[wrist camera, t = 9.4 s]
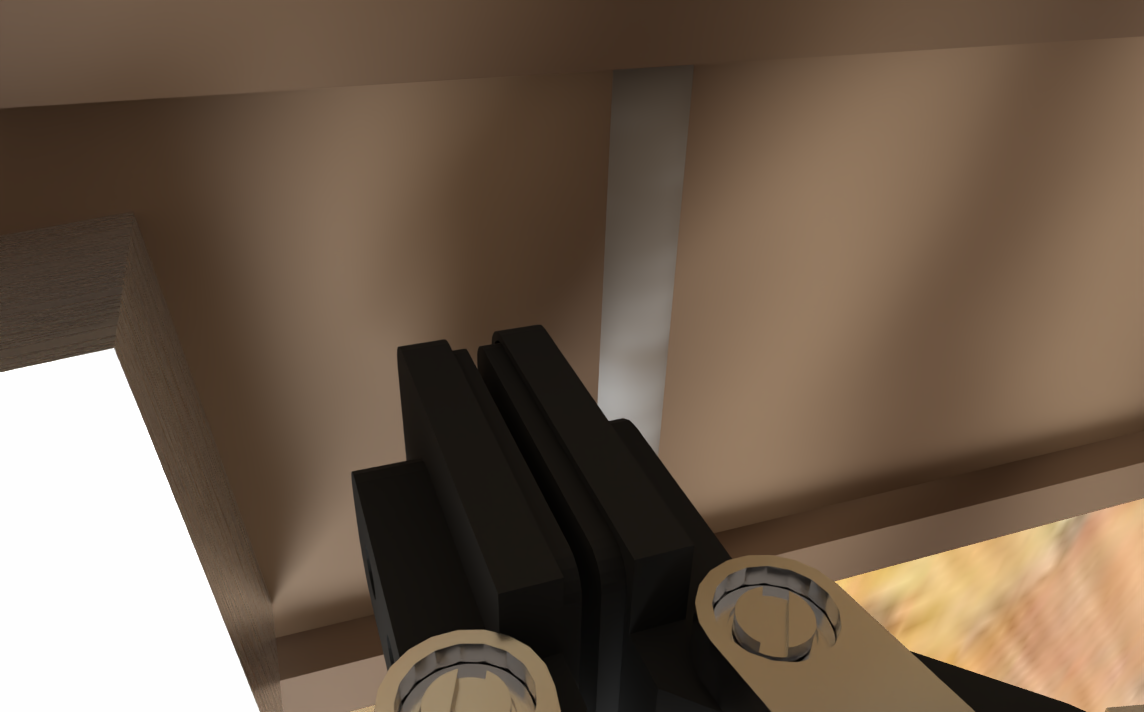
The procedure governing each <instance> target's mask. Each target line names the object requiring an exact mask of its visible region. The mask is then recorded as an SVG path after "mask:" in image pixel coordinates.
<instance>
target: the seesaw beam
mask: <svg viewBox="0 0 1144 712" xmlns="http://www.w3.org/2000/svg"><path fill="white" fill-rule="evenodd" d="M131 211H134V213H135V216H136V219H137V222H138V225H139V227H140V230H141V233H142V236H143V239H144V242H145V244H146V247H147V250H148V253H149V256H150V259H151V261H152V264H153V267H154V270H155V273H156V276H157V278H158V281H159V284H160V287H161V290H162V293H163V295H164V298H165V301H166V304H167V307H168V310H169V312H170V315H171V318H172V321H173V324H174V327H175V329H176V332H177V335H178V338H179V341H180V344H181V346H182V349H183V352H184V355H185V358H186V361H187V364H188V366H189V369H190V372H191V375H192V378H193V381H194V383H195V386H196V389H197V392H198V395H199V398H200V400H201V403H202V406H203V409H204V412H205V415H206V417H207V420H208V423H209V426H210V429H211V432H212V434H213V437H214V440H215V443H216V446H217V449H218V451H219V454H220V457H221V460H222V463H223V466H224V468H225V471H226V474H227V477H228V480H229V483H230V485H231V488H232V491H233V494H234V497H235V500H236V502H237V505H238V508H239V511H240V514H241V517H242V519H243V522H244V525H245V528H246V531H247V534H248V536H249V539H250V542H251V545H252V548H253V551H254V553H255V556H256V559H257V562H258V565H259V568H260V570H261V573H262V576H263V579H264V582H265V585H266V588H267V590H268V593H269V596H270V599H271V602H272V606H273V616H274V626H275V636H276V646H277V656H278V666H279V676H280V686H281V695H282V705H283V712H350V711H354V710H358V709H361V708H365V707H369V706H373V705H375V703H376V697H377V691H378V688H379V686H380V684H381V683H382V681H383V679H384V677H385V675H386V674H387V672H388V671H387V667H386V663H385V658H384V654H383V650H382V645H381V641H380V637H379V633H378V628H377V624H376V620H375V615H374V611H373V607H372V603H371V598H370V594H369V589H368V584H367V579H366V574H365V569H364V563H363V558H362V552H361V546H360V540H359V533H358V527H357V519H356V512H355V505H354V497H353V489H352V480H351V472H352V471H356V470H362V469H367V468H372V467H377V466H382V465H387V464H392V463H397V462H402V461H406V451H405V441H404V430H403V419H402V408H401V398H400V387H399V376H398V366H397V348H398V346H405V345H411V344H417V343H424V342H430V341H437V340H443V339H446V340H447V341H448V343H449V345H450V347H451V349H452V351H453V350H459V349H467V350H468V352H469V354H470V356H471V358H472V360H473V361H474V363H475V365H476V367H477V351H478V348H479V346H484V345H490V344H492V336H493V333H494V332H495V331H500V330H506V329H513V328H519V327H525V326H532V325H542V326H543V327H544V328H545V329H546V331H547V332H548V334H549V335H550V336H551V338H552V339H553V341H554V342H555V344H556V345H557V347H558V348H559V350H560V351H561V352H562V354H563V355H564V357H565V358H566V360H567V361H568V363H569V364H570V365H571V367H572V368H573V370H574V371H575V373H576V374H577V376H578V377H579V379H580V380H581V381H582V383H583V384H584V386H585V387H586V389H587V390H588V392H589V393H590V394H591V396H592V397H593V399H594V400H595V402H596V403H597V405H598V406H599V408H600V409H601V410H602V412H603V413H604V415H605V416H606V418H607V419H608V421H611V420H616V419H621V418H625V419H628V420H630V421H631V422H632V423H633V424H634V425H635V426H636V427H637V428H638V430H639V431H640V433H641V434H642V435H643V437H644V438H645V439H646V441H647V442H648V444H649V445H650V446H651V448H652V449H653V450H654V452H655V453H656V455H657V456H658V457H659V459H660V460H661V461H662V463H663V464H664V466H665V467H666V468H667V470H668V471H669V472H670V474H671V475H672V477H673V478H674V479H675V481H676V482H677V483H678V485H679V486H680V488H681V489H682V490H683V492H684V493H685V494H686V496H687V497H688V499H689V500H690V501H691V503H692V504H693V505H694V507H695V508H696V510H697V511H698V512H699V514H700V515H701V516H702V518H703V519H704V521H705V522H706V523H707V525H708V526H709V527H710V529H711V530H712V532H713V533H714V534H715V536H716V537H717V538H718V540H719V541H720V543H721V544H722V545H723V547H724V548H725V549H726V551H727V552H728V554H729V555H730V556H731V558H732V559H735V558H739V557H743V556H747V555H773V556H778V557H783V558H788V559H793V560H796V561H799V562H801V563H803V564H805V565H808V566H810V567H812V568H815V569H817V570H819V571H820V572H821V573H823V574H824V575H826V576H827V577H828V578H830V579H831V580H832V581H837V580H841V579H845V578H849V577H852V576H856V575H860V574H863V573H867V572H871V571H875V570H878V569H882V568H886V567H889V566H893V565H897V564H901V563H904V562H908V561H912V560H916V559H919V558H923V557H927V556H930V555H934V554H938V553H942V552H945V551H949V550H953V549H956V548H960V547H964V546H968V545H971V544H975V543H979V542H982V541H986V540H990V539H994V538H997V537H1001V536H1005V535H1008V534H1012V533H1016V532H1020V531H1023V530H1027V529H1031V528H1034V527H1038V526H1042V525H1046V524H1049V523H1053V522H1057V521H1061V520H1064V519H1068V518H1072V517H1075V516H1079V515H1083V514H1087V513H1090V512H1094V511H1098V510H1101V509H1105V508H1109V507H1113V506H1116V505H1120V504H1124V503H1127V502H1131V501H1135V500H1139V499H1142V498H1144V0H0V235H5V234H11V233H16V232H22V231H27V230H32V229H38V228H43V227H49V226H54V225H60V224H65V223H71V222H76V221H82V220H87V219H93V218H98V217H103V216H109V215H114V214H120V213H125V212H131ZM477 369H478V368H477Z"/></svg>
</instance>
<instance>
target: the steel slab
mask: <svg viewBox="0 0 1144 712" xmlns="http://www.w3.org/2000/svg"><path fill="white" fill-rule="evenodd" d="M0 712H283V705H282V695H281V686H280V676H279V666H278V656H277V646H276V636H275V626H274V616H273V606H272V602H271V599H270V596H269V593H268V590H267V588H266V585H265V582H264V579H263V576H262V573H261V570H260V568H259V565H258V562H257V559H256V556H255V553H254V551H253V548H252V545H251V542H250V539H249V536H248V534H247V531H246V528H245V525H244V522H243V519H242V517H241V514H240V511H239V508H238V505H237V502H236V500H235V497H234V494H233V491H232V488H231V485H230V483H229V480H228V477H227V474H226V471H225V468H224V466H223V463H222V460H221V457H220V454H219V451H218V449H217V446H216V443H215V440H214V437H213V434H212V432H211V429H210V426H209V423H208V420H207V417H206V415H205V412H204V409H203V406H202V403H201V400H200V398H199V395H198V392H197V389H196V386H195V383H194V381H193V378H192V375H191V372H190V369H189V366H188V364H187V361H186V358H185V355H184V352H183V349H182V346H181V344H180V341H179V338H178V335H177V332H176V329H175V327H174V324H173V321H172V318H171V315H170V312H169V310H168V307H167V304H166V301H165V298H164V295H163V293H162V290H161V287H160V284H159V281H158V278H157V276H156V273H155V270H154V267H153V264H152V261H151V259H150V256H149V253H148V250H147V247H146V244H145V242H144V239H143V236H142V233H141V230H140V227H139V225H138V222H137V219H136V216H135V213H134V211H131V212H125V213H120V214H114V215H109V216H103V217H98V218H93V219H87V220H82V221H76V222H71V223H65V224H60V225H54V226H49V227H43V228H38V229H32V230H27V231H22V232H16V233H11V234H5V235H0Z"/></svg>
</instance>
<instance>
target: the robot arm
mask: <svg viewBox="0 0 1144 712" xmlns="http://www.w3.org/2000/svg"><path fill="white" fill-rule="evenodd" d="M397 366H398V376H399V387H400V398H401V408H402V419H403V430H404V441H405V451H406V461H402V462H397V463H392V464H387V465H382V466H377V467H372V468H367V469H362V470H356V471H352V472H351V480H352V489H353V497H354V505H355V512H356V519H357V527H358V533H359V540H360V546H361V552H362V558H363V563H364V569H365V574H366V579H367V584H368V589H369V594H370V598H371V603H372V607H373V611H374V615H375V620H376V624H377V628H378V633H379V637H380V641H381V645H382V650H383V654H384V658H385V663H386V667H387V671H388V672H387V674H386V675H385V677H384V679H383V681H382V683H381V684H380V686H379V688H378V691H377V697H376V703H375V708H374V712H1086V711H1083V710H1081V709H1079V708H1076V707H1074V706H1072V705H1070V704H1067V703H1064V702H1061V701H1058V700H1055V699H1052V698H1049V697H1046V696H1043V695H1040V694H1037V693H1034V692H1031V691H1028V690H1025V689H1022V688H1019V687H1016V686H1013V685H1010V684H1007V683H1004V682H1001V681H998V680H995V679H992V678H989V677H986V676H983V675H980V674H977V673H974V672H971V671H968V670H965V669H962V668H959V667H956V666H953V665H950V664H947V663H944V662H941V661H938V660H935V659H932V658H929V657H926V656H923V655H920V654H917V653H914V652H911V651H909V650H908V649H907V648H906V647H905V646H904V645H903V644H902V643H900V642H899V641H898V640H897V639H896V638H895V637H894V636H893V635H892V634H891V633H890V632H889V631H887V630H886V629H885V628H884V627H883V626H882V625H881V624H880V623H879V622H878V621H877V620H876V619H875V618H873V617H872V616H871V615H870V614H869V613H868V612H867V611H866V610H865V609H864V608H863V607H862V606H860V605H859V604H858V603H857V602H856V601H855V600H854V599H853V598H852V597H851V596H850V595H849V594H848V593H846V592H845V591H844V590H843V589H842V588H841V587H840V586H839V585H838V584H837V583H835V582H834V581H832V580H831V579H830V578H828V577H827V576H826V575H824V574H823V573H821V572H820V571H819V570H817V569H815V568H812V567H810V566H808V565H805V564H803V563H801V562H799V561H796V560H793V559H788V558H783V557H778V556H773V555H747V556H743V557H739V558H735V559H732V558H731V556H730V555H729V554H728V552H727V551H726V549H725V548H724V547H723V545H722V544H721V543H720V541H719V540H718V538H717V537H716V536H715V534H714V533H713V532H712V530H711V529H710V527H709V526H708V525H707V523H706V522H705V521H704V519H703V518H702V516H701V515H700V514H699V512H698V511H697V510H696V508H695V507H694V505H693V504H692V503H691V501H690V500H689V499H688V497H687V496H686V494H685V493H684V492H683V490H682V489H681V488H680V486H679V485H678V483H677V482H676V481H675V479H674V478H673V477H672V475H671V474H670V472H669V471H668V470H667V468H666V467H665V466H664V464H663V463H662V461H661V460H660V459H659V457H658V456H657V455H656V453H655V452H654V450H653V449H652V448H651V446H650V445H649V444H648V442H647V441H646V439H645V438H644V437H643V435H642V434H641V433H640V431H639V430H638V428H637V427H636V426H635V425H634V424H633V423H632V422H631V421H630V420H628V419H625V418H621V419H616V420H611V421H608V419H607V418H606V416H605V415H604V413H603V412H602V410H601V409H600V408H599V406H598V405H597V403H596V402H595V400H594V399H593V397H592V396H591V394H590V393H589V392H588V390H587V389H586V387H585V386H584V384H583V383H582V381H581V380H580V379H579V377H578V376H577V374H576V373H575V371H574V370H573V368H572V367H571V365H570V364H569V363H568V361H567V360H566V358H565V357H564V355H563V354H562V352H561V351H560V350H559V348H558V347H557V345H556V344H555V342H554V341H553V339H552V338H551V336H550V335H549V334H548V332H547V331H546V329H545V328H544V327H543V326H542V325H532V326H525V327H519V328H513V329H506V330H500V331H495V332H494V333H493V336H492V344H490V345H484V346H479V348H478V351H477V367H476V365H475V363H474V361H473V360H472V358H471V356H470V354H469V352H468V350H467V349H459V350H453V351H452V349H451V347H450V345H449V343H448V341H447V340H446V339H443V340H437V341H430V342H424V343H417V344H411V345H405V346H398V348H397ZM477 368H478V369H477ZM1105 712H1144V705H1134V706H1122V707H1110V708H1106V710H1105Z"/></svg>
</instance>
